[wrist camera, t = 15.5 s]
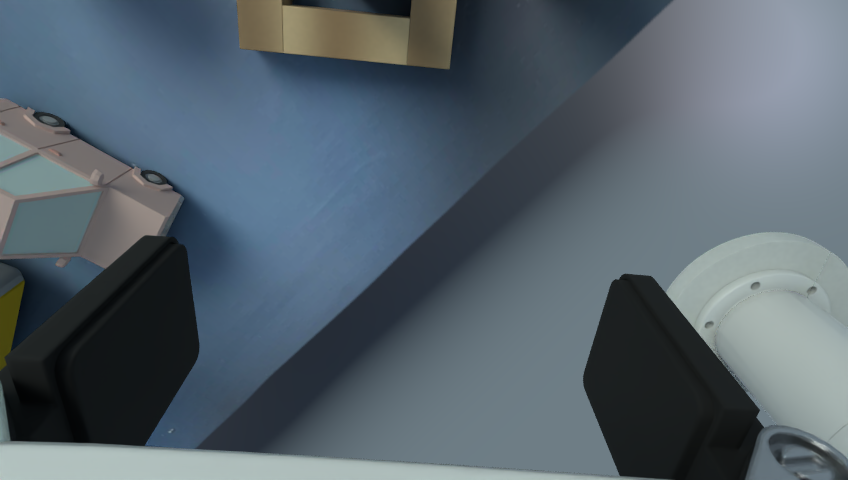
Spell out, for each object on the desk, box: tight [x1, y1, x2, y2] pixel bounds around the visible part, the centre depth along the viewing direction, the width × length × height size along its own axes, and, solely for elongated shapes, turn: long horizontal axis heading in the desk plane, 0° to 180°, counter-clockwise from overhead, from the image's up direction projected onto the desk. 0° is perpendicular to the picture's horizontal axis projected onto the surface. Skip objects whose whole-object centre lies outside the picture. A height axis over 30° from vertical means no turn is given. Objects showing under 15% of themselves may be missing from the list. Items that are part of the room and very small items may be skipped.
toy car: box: [0, 99, 184, 269], centre depth 37 cm, size 9×15×10 cm, turn 56°
